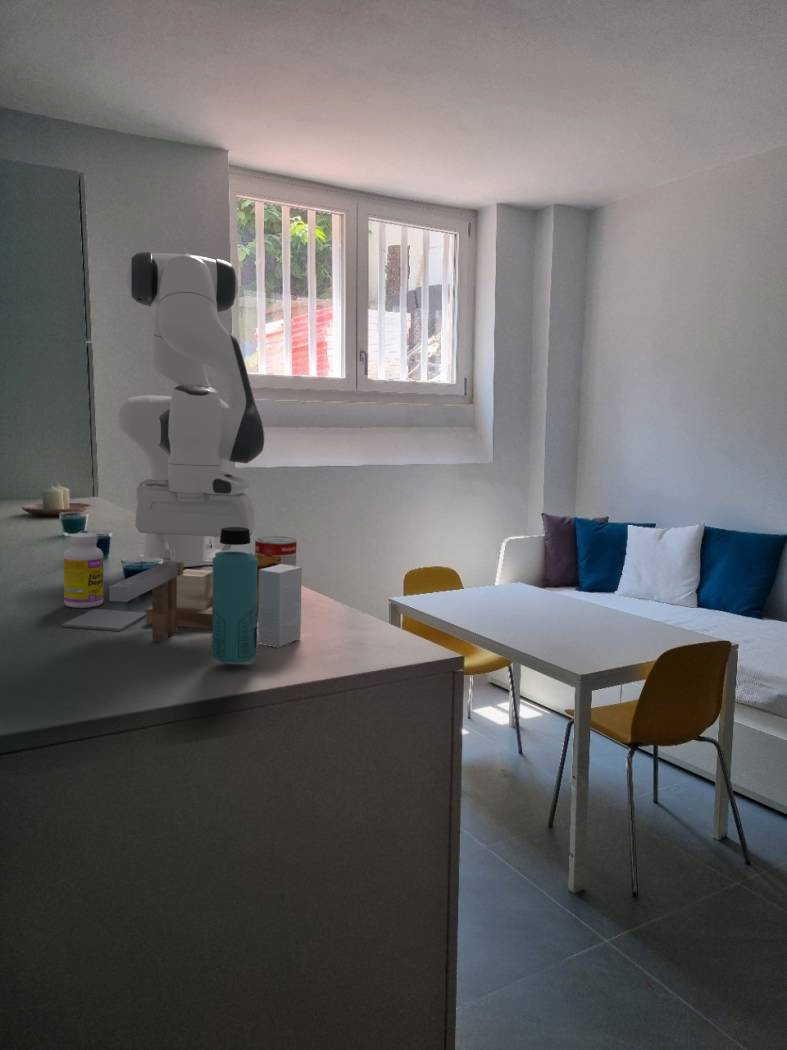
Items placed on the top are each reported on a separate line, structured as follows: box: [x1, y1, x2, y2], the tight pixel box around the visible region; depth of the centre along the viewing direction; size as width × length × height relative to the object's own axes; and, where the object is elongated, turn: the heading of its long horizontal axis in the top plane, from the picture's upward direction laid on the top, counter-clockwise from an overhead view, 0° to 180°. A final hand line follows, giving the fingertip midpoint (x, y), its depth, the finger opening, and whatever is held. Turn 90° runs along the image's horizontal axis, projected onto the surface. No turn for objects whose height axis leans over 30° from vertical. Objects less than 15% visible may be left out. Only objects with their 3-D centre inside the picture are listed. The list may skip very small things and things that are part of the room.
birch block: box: [177, 568, 213, 610], centre depth 129 cm, size 5×5×8 cm
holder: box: [145, 577, 212, 643], centre depth 125 cm, size 21×12×9 cm, turn 173°
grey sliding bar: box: [109, 561, 184, 603], centre depth 110 cm, size 19×3×2 cm, turn 173°
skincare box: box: [257, 564, 302, 648], centre depth 117 cm, size 6×4×12 cm
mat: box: [62, 608, 146, 632], centre depth 125 cm, size 10×10×1 cm
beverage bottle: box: [210, 527, 259, 664], centre depth 104 cm, size 6×7×20 cm
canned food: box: [254, 536, 298, 604], centre depth 143 cm, size 8×8×12 cm
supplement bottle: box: [63, 532, 104, 609], centre depth 134 cm, size 7×7×13 cm
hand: (194, 561), depth 128 cm, fingers open, 8 cm apart
